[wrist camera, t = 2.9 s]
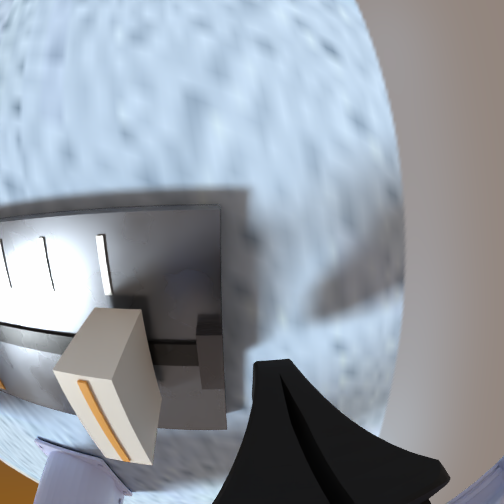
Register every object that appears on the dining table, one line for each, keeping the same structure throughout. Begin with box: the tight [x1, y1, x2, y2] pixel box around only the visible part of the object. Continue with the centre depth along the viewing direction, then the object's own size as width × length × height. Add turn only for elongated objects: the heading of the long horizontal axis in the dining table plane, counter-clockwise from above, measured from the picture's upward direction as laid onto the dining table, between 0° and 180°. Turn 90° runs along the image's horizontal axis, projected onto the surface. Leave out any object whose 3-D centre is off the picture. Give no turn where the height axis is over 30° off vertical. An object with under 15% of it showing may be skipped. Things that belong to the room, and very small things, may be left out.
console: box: [0, 205, 227, 430], centre depth 10 cm, size 12×24×2 cm, turn 88°
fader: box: [53, 307, 162, 465], centre depth 8 cm, size 5×2×4 cm, turn 179°
